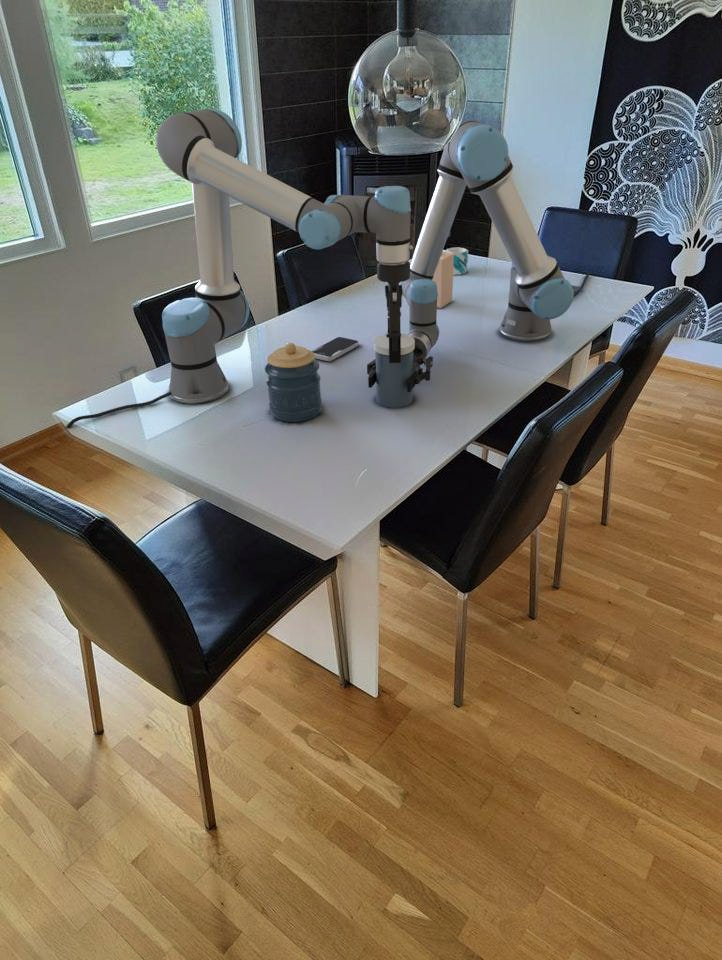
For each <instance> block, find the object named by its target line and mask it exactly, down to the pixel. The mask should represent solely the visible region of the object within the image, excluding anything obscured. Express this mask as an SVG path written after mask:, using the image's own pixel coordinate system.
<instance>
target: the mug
mask: <svg viewBox="0 0 722 960" xmlns="http://www.w3.org/2000/svg"><path fill="white" fill-rule="evenodd" d="M445 252H448V253H454V264H453V276H457V275H464V274H466V273H467V264H468V263H469V249H467V248H465V247H458V246H457V247H450V248H446V250H445Z"/></svg>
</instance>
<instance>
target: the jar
mask: <svg viewBox="0 0 722 960" xmlns="http://www.w3.org/2000/svg"><path fill="white" fill-rule="evenodd" d="M374 352H375V359H376V383H375V393H376V395H375V396H376V402H377V404H379V405H380V406H382V407H384V408H389V409H391V408H392V409H398V408H399V409H400V408H404V407H406V406H409V405H410V404H412V403H413V401H414V388H413V389H412V391H411V392H407V382H408V380H409V379H410V377H411V376H412V374H413V373H414V372H413V351H412V352H410V353H408V354H404V355H401V363H389V355H383V354H380V353H377V352H376V351H375V350H374Z"/></svg>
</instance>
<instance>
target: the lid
mask: <svg viewBox="0 0 722 960" xmlns="http://www.w3.org/2000/svg"><path fill="white" fill-rule="evenodd" d="M414 348H415V340H414V338H412V337H411V336H408V334H404V333H401V355H404V354H408V353H410V352H412V351H413V350H414ZM373 350H374V352H375V351H376V352H377V353H380V354H383V355H389V337H386V334H382V335H379V336H377V337H376V338H374V340H373Z"/></svg>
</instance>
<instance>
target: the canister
mask: <svg viewBox="0 0 722 960" xmlns="http://www.w3.org/2000/svg"><path fill="white" fill-rule="evenodd" d="M312 351H313V350H309V349H308V348H306V347H304V346H299V345H296V344H294V343H293V342H287V343H286V344H285V346H283V347H279V348H277V349H275V350H274V351H273V352H272V353H270V354H269V355H268V356H267V359H266V360H267V364H265V367H264V372H265V373H266V375H267V378H266V382H265V383H266V385H267V393H268V400H269V402H268V406H269V410H270V413H271V415H272V417H273V418H275V419H276V420H279V421H282V422H288V423H289V422H290V423H296V422H297V423H298V422H304V421H308V420H311V419H313V418H315V417H317V416H318V415H319V414H320V413H321V411H322V408H323V399H322V392H321V376H320V374H319V372H318V370H319V369H320V363H319V361H318V359H316V358H315V354H314V353H313V352H312Z"/></svg>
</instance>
